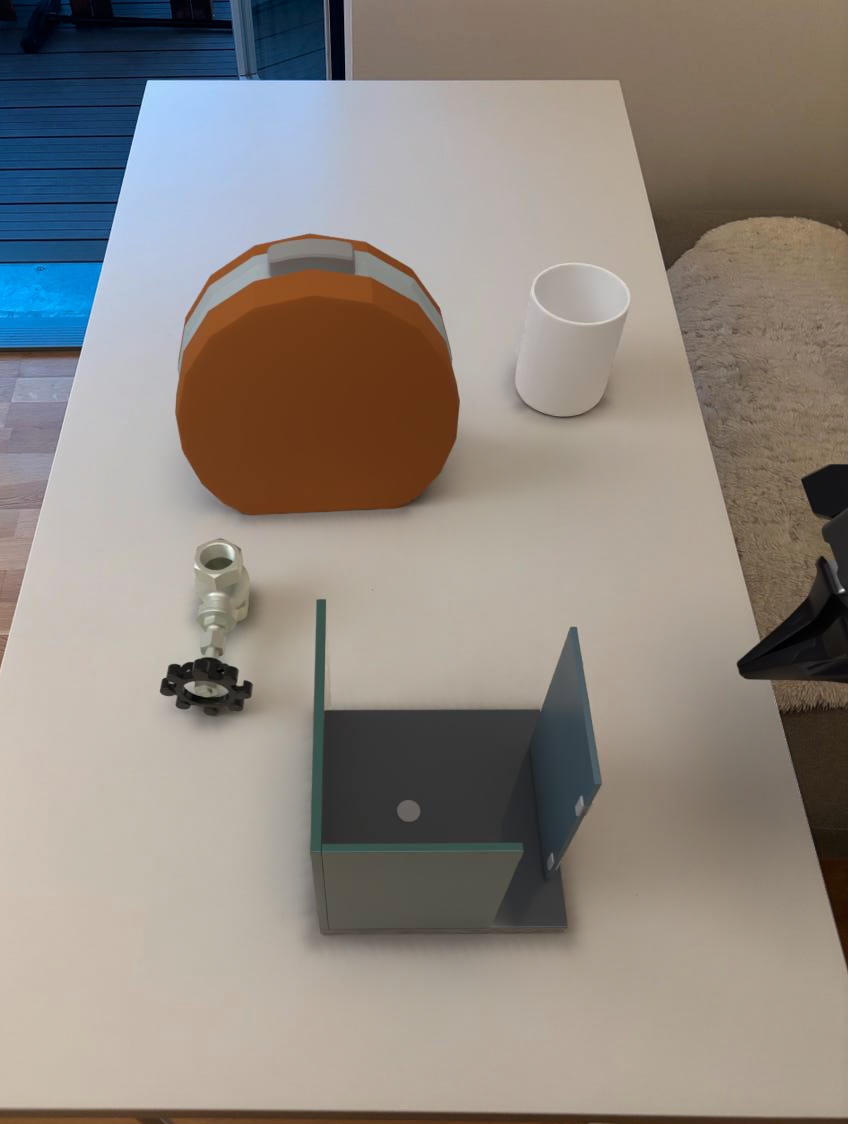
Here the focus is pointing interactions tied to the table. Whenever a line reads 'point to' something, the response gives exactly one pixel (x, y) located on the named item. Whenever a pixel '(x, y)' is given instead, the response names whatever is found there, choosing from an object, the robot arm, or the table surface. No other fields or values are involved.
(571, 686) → the shower door
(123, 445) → the table surface
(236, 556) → the valve
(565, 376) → the mug
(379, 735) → the shower stall
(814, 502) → the robot arm
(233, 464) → the alarm clock
